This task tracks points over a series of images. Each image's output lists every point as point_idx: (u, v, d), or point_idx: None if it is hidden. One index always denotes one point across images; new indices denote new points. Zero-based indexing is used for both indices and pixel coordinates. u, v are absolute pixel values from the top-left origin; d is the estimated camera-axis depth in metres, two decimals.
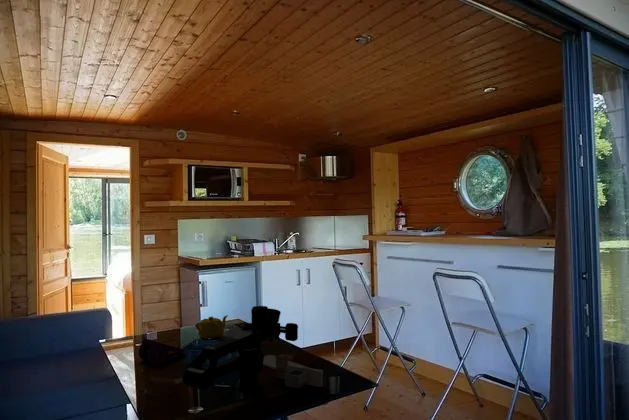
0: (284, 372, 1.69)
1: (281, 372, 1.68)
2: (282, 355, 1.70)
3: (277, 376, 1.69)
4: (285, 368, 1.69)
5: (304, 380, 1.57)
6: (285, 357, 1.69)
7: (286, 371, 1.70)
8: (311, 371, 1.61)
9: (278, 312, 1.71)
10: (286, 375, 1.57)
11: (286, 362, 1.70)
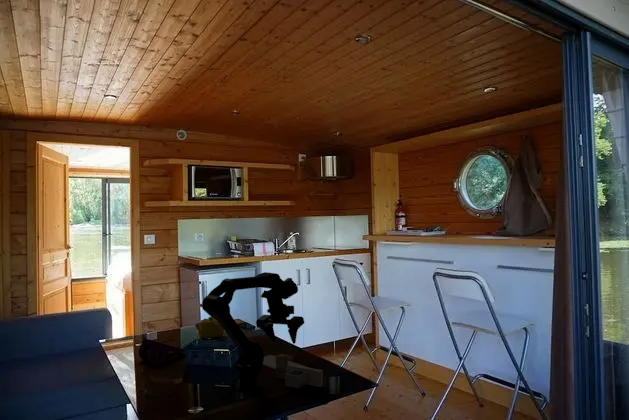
0: (284, 372, 1.69)
1: (281, 372, 1.68)
2: (282, 355, 1.70)
3: (277, 376, 1.69)
4: (285, 368, 1.69)
5: (304, 380, 1.57)
6: (285, 357, 1.69)
7: (286, 371, 1.70)
8: (311, 371, 1.61)
9: (293, 310, 1.75)
10: (286, 375, 1.57)
11: (286, 362, 1.70)
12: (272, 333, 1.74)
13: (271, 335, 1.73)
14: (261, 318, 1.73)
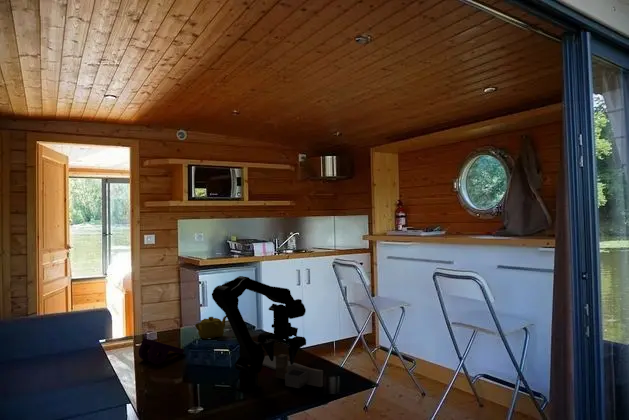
0: (284, 372, 1.69)
1: (281, 372, 1.68)
2: (282, 355, 1.70)
3: (277, 376, 1.69)
4: (285, 368, 1.69)
5: (304, 380, 1.57)
6: (285, 357, 1.69)
7: (286, 371, 1.70)
8: (311, 371, 1.61)
9: (296, 332, 1.75)
10: (286, 375, 1.57)
11: (286, 362, 1.70)
12: (271, 351, 1.72)
13: (270, 353, 1.71)
14: (263, 334, 1.73)
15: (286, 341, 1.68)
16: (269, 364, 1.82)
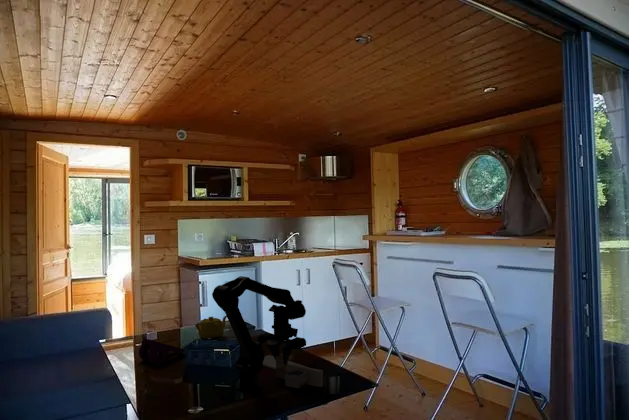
0: (284, 372, 1.69)
1: (281, 372, 1.68)
2: (282, 355, 1.70)
3: (277, 376, 1.69)
4: (285, 368, 1.69)
5: (304, 380, 1.57)
6: None
7: (286, 371, 1.70)
8: (311, 371, 1.61)
9: (296, 333, 1.75)
10: (286, 375, 1.57)
11: None
12: (277, 353, 1.71)
13: (276, 355, 1.70)
14: (263, 334, 1.73)
15: None
16: (269, 364, 1.82)
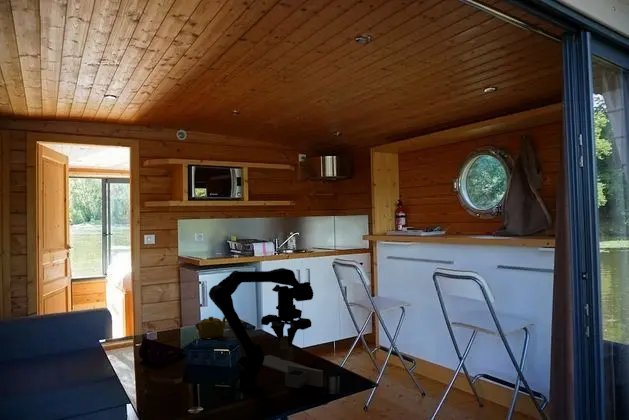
0: (289, 354, 1.65)
1: (286, 354, 1.64)
2: (286, 336, 1.67)
3: (282, 358, 1.65)
4: (290, 350, 1.66)
5: (304, 380, 1.57)
6: None
7: (290, 353, 1.66)
8: (311, 371, 1.61)
9: None
10: (286, 375, 1.57)
11: None
12: (281, 335, 1.67)
13: (280, 336, 1.66)
14: (267, 316, 1.69)
15: None
16: (269, 364, 1.82)
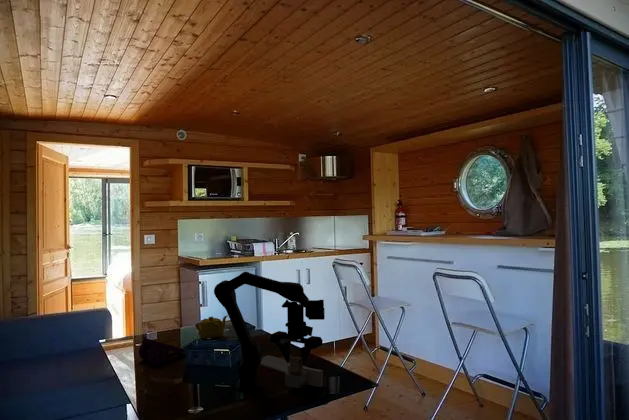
0: None
1: None
2: (297, 358, 1.59)
3: None
4: (300, 372, 1.58)
5: (304, 380, 1.57)
6: (300, 360, 1.58)
7: None
8: (311, 371, 1.61)
9: (311, 331, 1.63)
10: (286, 375, 1.57)
11: (301, 365, 1.58)
12: (287, 353, 1.60)
13: (286, 354, 1.59)
14: (276, 333, 1.61)
15: None
16: (268, 364, 1.81)
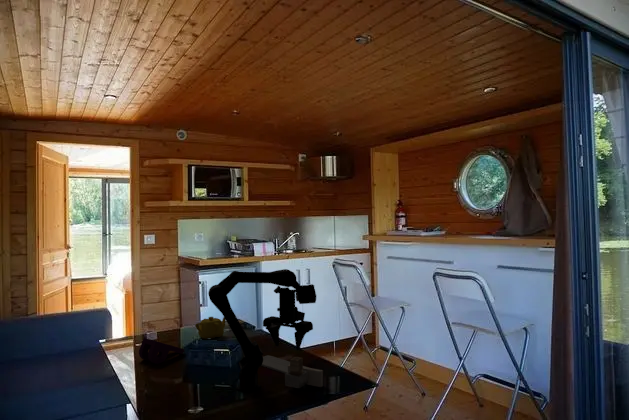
0: None
1: None
2: (297, 358, 1.59)
3: None
4: (300, 372, 1.58)
5: (304, 380, 1.57)
6: (300, 360, 1.58)
7: None
8: (311, 371, 1.61)
9: (303, 317, 1.68)
10: (286, 375, 1.57)
11: (301, 365, 1.58)
12: (277, 336, 1.66)
13: (275, 338, 1.65)
14: (269, 318, 1.66)
15: (292, 326, 1.61)
16: (268, 364, 1.81)
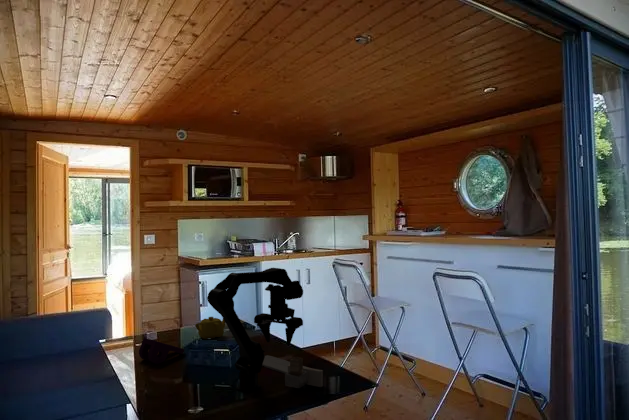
0: None
1: None
2: (297, 358, 1.59)
3: None
4: (300, 372, 1.58)
5: (304, 380, 1.57)
6: (300, 360, 1.58)
7: None
8: (311, 371, 1.61)
9: (293, 313, 1.73)
10: (286, 375, 1.57)
11: (301, 365, 1.58)
12: (268, 333, 1.71)
13: (266, 334, 1.70)
14: (260, 315, 1.71)
15: (283, 322, 1.67)
16: (268, 364, 1.81)
